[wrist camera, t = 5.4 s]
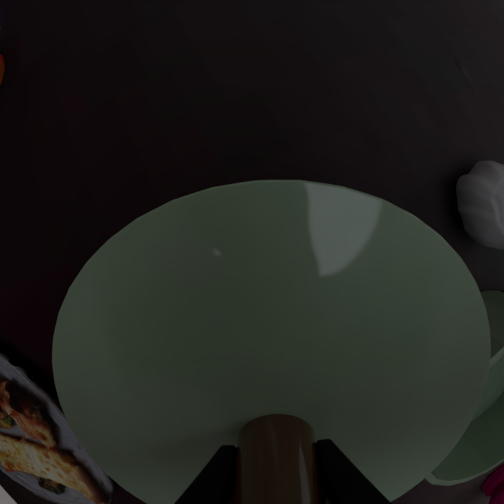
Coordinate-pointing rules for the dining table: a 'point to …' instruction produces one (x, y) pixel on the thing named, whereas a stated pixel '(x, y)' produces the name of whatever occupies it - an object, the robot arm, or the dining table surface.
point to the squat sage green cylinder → (481, 413)
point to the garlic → (483, 203)
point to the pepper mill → (495, 486)
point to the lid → (271, 343)
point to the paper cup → (1, 68)
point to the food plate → (44, 444)
